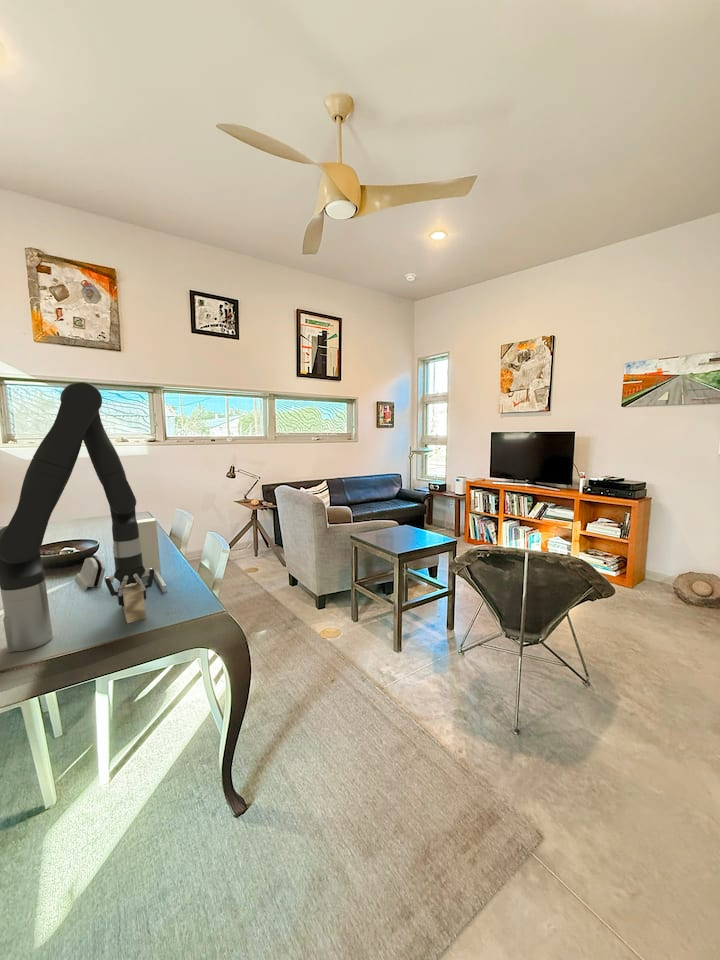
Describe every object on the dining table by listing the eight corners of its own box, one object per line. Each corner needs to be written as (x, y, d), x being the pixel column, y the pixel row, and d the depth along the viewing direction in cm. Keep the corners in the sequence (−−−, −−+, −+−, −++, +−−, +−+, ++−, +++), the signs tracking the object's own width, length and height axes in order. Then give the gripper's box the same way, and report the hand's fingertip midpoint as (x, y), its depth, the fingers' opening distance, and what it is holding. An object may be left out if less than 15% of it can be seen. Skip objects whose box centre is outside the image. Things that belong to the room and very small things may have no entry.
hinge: (74, 578, 152) (82, 553, 153) (88, 579, 155) (96, 554, 156) (85, 590, 140) (93, 563, 141) (99, 591, 144) (107, 564, 145)
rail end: (127, 623, 117) (124, 595, 116) (122, 605, 129) (119, 579, 127) (145, 618, 120) (143, 590, 119) (139, 601, 132) (136, 576, 130)
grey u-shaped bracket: (133, 599, 133) (127, 538, 130) (125, 576, 153) (119, 522, 150) (171, 590, 140) (166, 531, 137) (158, 569, 161) (154, 518, 157)
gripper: (101, 560, 114) (107, 614, 117) (155, 550, 122) (159, 601, 125) (99, 554, 120) (105, 605, 123) (151, 545, 128) (155, 593, 131)
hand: (133, 603), depth 124 cm, fingers closed on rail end, 5 cm apart
